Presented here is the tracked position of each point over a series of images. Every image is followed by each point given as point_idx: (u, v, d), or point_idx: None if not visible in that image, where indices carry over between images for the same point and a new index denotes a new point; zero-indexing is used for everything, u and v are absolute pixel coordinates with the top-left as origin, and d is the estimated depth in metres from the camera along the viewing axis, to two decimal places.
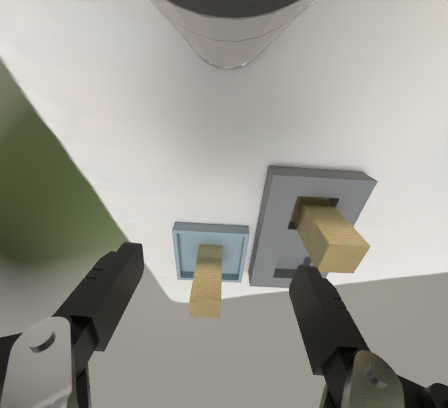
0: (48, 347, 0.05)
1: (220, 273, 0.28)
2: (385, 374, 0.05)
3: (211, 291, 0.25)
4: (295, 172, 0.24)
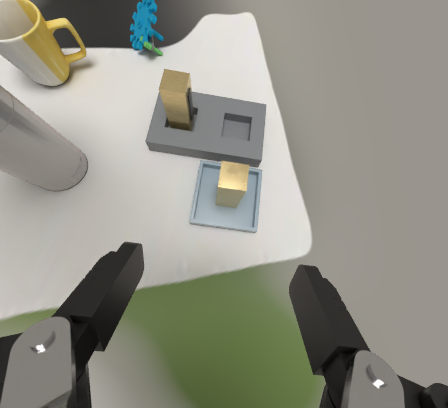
0: (48, 347, 0.05)
1: None
2: (385, 374, 0.05)
3: None
4: None
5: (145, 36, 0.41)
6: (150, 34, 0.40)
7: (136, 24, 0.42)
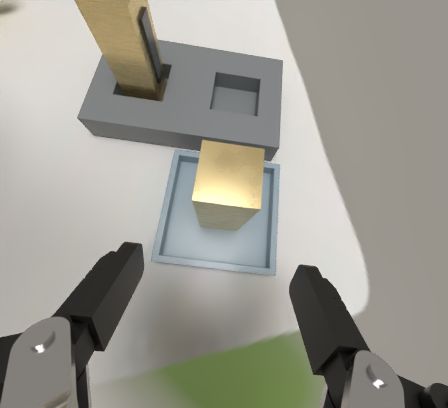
0: (48, 347, 0.05)
1: None
2: (385, 374, 0.05)
3: None
4: None
5: None
6: None
7: None
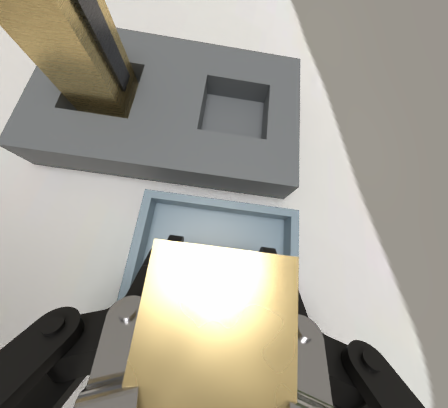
0: (135, 319, 0.06)
1: None
2: (310, 330, 0.06)
3: None
4: None
5: None
6: None
7: None
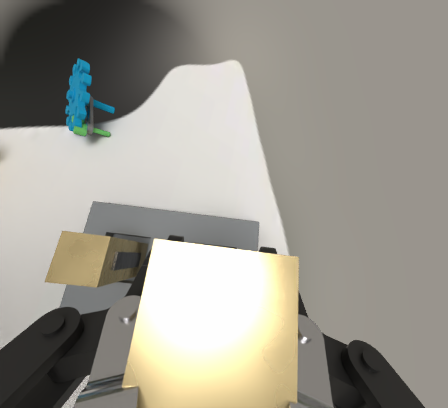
0: (135, 319, 0.06)
1: None
2: (310, 330, 0.06)
3: None
4: None
5: (78, 118, 0.27)
6: (82, 117, 0.26)
7: None
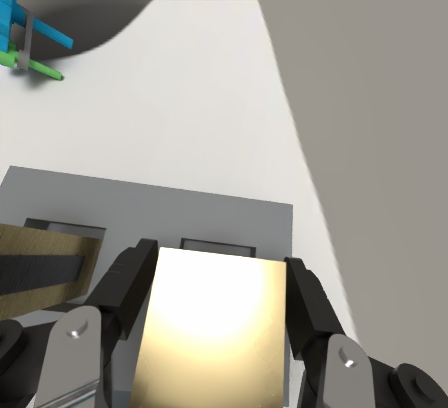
0: (83, 333, 0.05)
1: None
2: (355, 354, 0.06)
3: None
4: None
5: (1, 36, 0.17)
6: (2, 31, 0.16)
7: None
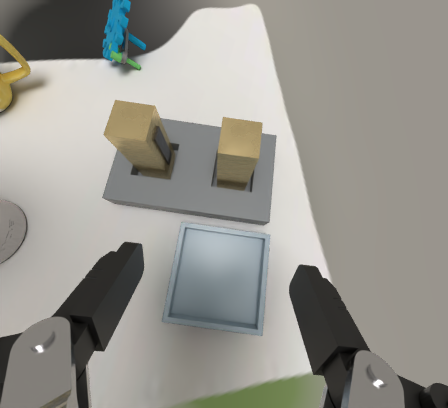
0: (48, 347, 0.05)
1: None
2: (385, 374, 0.05)
3: None
4: None
5: (115, 44, 0.30)
6: (119, 42, 0.29)
7: (109, 26, 0.32)
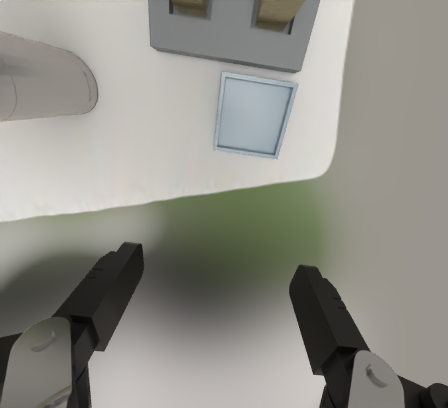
0: (48, 347, 0.05)
1: None
2: (385, 374, 0.05)
3: None
4: None
5: None
6: None
7: None
